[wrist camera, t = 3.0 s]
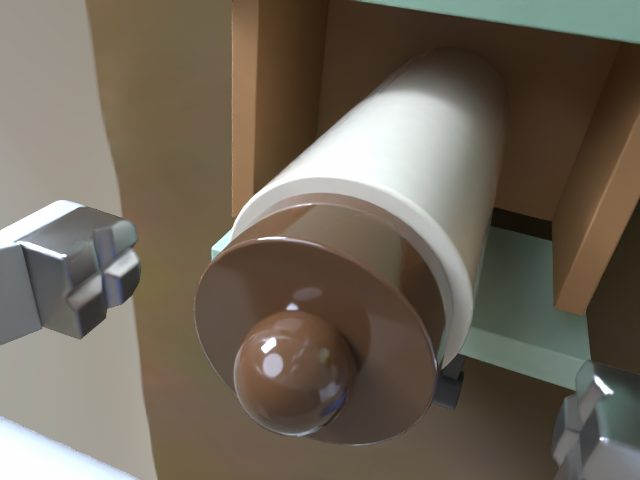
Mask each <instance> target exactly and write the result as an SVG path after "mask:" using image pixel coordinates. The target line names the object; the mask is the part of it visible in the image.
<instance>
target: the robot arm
mask: <svg viewBox="0 0 640 480" xmlns="http://www.w3.org/2000/svg"><path fill="white" fill-rule="evenodd" d="M137 242H138V238H137V231H136V226H135V225H134V224H133V223H132V222H130V221H129V220H127V219H124V218H121V217H118V216H115V215H112V214H109V213H105V212H103V211H100V210H97V209H93V208H90V207H86V206H83V205H81V204H77V203H74V202H71V201H61V200H59V201H56V202H54V203H52V204H50V205H49V206H47V207H45V208H43V209H41V210H39V211H37V212H35V213H33V214H31V215H29V216H27V217H25V218H23V219H22V220H20V221H18V222H16V223H14V224H12V225H10V226H8V227H6V228H4V229H2V230H0V345H3V344H5V343H8V342H10V341H13V340H15V339H18V338H20V337H23V336H25V335H28V334H30V333H33V332H35V331H38V330H40V329H42V326H43V327H46V328H48V329H51V330H54V331H57V332H60V333H63V334H65V335H69V336H71V337H74V338H77V339H82V338H83V337H84V336H85V335H86V334H87V333H89V332H90V331H91V330H92V329H93V328H95V327H96V326H97V325H98V324H99V323H101V322H102V321H103V320H104V319H105V318H106V313H107V309H108V308H111V307H115V306H118V305H121V304H123V303H124V302H125V301H126V300H127V299H128V298H129V297H131V296H132V294H133V292H134V291H135V289H136V287H137V285H138V283H139V280H140V274H141V264H140V259H139V258H138V256H137V255H136V253H135V251H134V250H133V247H134V246H135V244H136V243H137ZM575 382H576V393H575V394H572V395H570V396H568V397H565V399H564V401H563V403H562V405H561V407H560V409H559V412H558V414H557V418H556V422H555V425H554V429H553V437H552V457H553V458H554V460H555V461H556V463H557V464H558V466H559V467H560V468H559V470H558V472H557V473H556V475H555V477H554V479H553V480H640V375H638V374H635V373H632V372H628V371H625V370H622V369H618V368H615V367H612V366H608V365H605V364H601V363H598V362H595V361H591V360H588V359H587V360H586V361H585V362H584V364H583V365H582V366H581V368H580V369H579V371H578V373H577V375H576V377H575ZM0 480H141V479H139V478H137V477H135V476H133V475H130V474H128V473H126V472H124V471H121V470H119V469H117V468H115V467H113V466H110V465H108V464H106V463H104V462H102V461H99V460H97V459H95V458H93V457H90V456H88V455H86V454H84V453H82V452H79V451H77V450H74V449H73V448H70V447H68V446H66V445H64V444H61V443H59V442H57V441H55V440H53V439H51V438H48V437H46V436H44V435H41V434H39V433H37V432H35V431H33V430H30V429H28V428H26V427H24V426H22V425H20V424H17V423H15V422H13V421H11V420H8V419H6V418H4V417H2V416H0Z"/></svg>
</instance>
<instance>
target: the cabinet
mask: <svg viewBox="0 0 640 480" xmlns="http://www.w3.org/2000/svg"><path fill="white" fill-rule="evenodd" d="M354 1H361V2H367V3H374V4H380V5H387V6H393V7H400V8H406V9H413V10H420V11H426V12H433V13H439V14H446V15H452V16H459V17H465V18H472V19H478V20H485V21H491V22H498V23H504V24H511V25H517V26H524V27H530V28H537V29H543V30H550V31H556V32H563V33H569V34H576V35H582V36H589V37H595V38H602V39H608V40H615V41H622V42H628V43H635V44H640V0H354Z"/></svg>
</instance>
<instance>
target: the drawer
mask: <svg viewBox="0 0 640 480" xmlns="http://www.w3.org/2000/svg"><path fill="white" fill-rule="evenodd" d="M439 47H453V48H460V49H464V50H468V51H470V52H473V53H475V54H477V55H479V56H481V57H482V58H484V59H485V60H486V61H488V62H489V63H490V64H491V65H492V66H493V67H494V68H495V69H496V70H497V71H498V73H499V74H500V75H501V77H502V78H503V80H504V82H505V84H506V86H507V89H508V92H509V96H510V101H511V119H510V125H509V130H508V135H507V141H506V146H505V151H504V156H503V162H502V167H501V172H500V177H499V183H498V188H497V193H496V199H495V204H494V207H495V208H499V209H503V210H507V211H511V212H515V213H520V214H524V215H528V216H532V217H536V218H540V219H544V220H548V221H552V241H549V240H545V239H541V238H537V237H533V236H529V235H525V234H521V233H518V232H514V231H510V230H506V229H502V228H498V227H494V226H490V230H489V235H488V241H487V246H486V251H485V256H484V262H483V267H482V272H481V278H480V283H479V288H478V293H477V299H476V304H475V309H474V314H473V319H472V323H471V328H470V331H469V334H468V336H467V338H466V341H465V343H464V345H463V346H462V348H461V349H460V351H459V352H458V354H457V355H456V356H455V357H454V358H453V360H452V361H451V362H450V363H449V364H448V365H447V366H446V367H444V368H443V369H442V370H441V373H440V377H439V381H438V385H437V390H436V394H435V396H434V399H433V401H432V403H434V404H437V405H440V406H443V407H446V408H449V409H451V410H454V409H455V407H456V404H457V402H458V398H459V395H460V391H461V387H462V383H463V378H464V372H463V371H461V369H462V366H463V363H464V360H465V357H466V356H468V357H471V358H474V359H478V360H481V361H484V362H487V363H490V364H493V365H496V366H499V367H503V368H506V369H509V370H512V371H515V372H518V373H521V374H524V375H528V376H531V377H534V378H537V379H540V380H543V381H546V382H549V383H553V384H556V385H559V386H562V387H565V388H568V389H571V390H574V391H576V382H575V377H576V375H577V373H578V371H579V369H580V368H581V366H582V365H583V364H584V362H585V361H586V360H587V359H588V360H591V355H590V345H589V336H588V327H587V318H586V309H587V307H588V305H589V302H590V300H591V298H592V296H593V294H594V292H595V290H596V288H597V286H598V284H599V282H600V280H601V278H602V276H603V273H604V271H605V269H606V267H607V265H608V263H609V261H610V259H611V257H612V255H613V253H614V251H615V249H616V247H617V245H618V242H619V240H620V238H621V236H622V234H623V232H624V230H625V228H626V226H627V224H628V222H629V220H630V218H631V216H632V214H633V211H634V209H635V207H636V205H637V203H638V201H639V199H640V44H635V43H628V42H622V41H615V40H608V39H602V38H595V37H589V36H582V35H576V34H569V33H563V32H556V31H550V30H543V29H537V28H530V27H524V26H517V25H511V24H504V23H498V22H491V21H485V20H478V19H472V18H465V17H459V16H452V15H446V14H439V13H433V12H426V11H420V10H413V9H406V8H400V7H393V6H387V5H380V4H374V3H367V2H361V1H354V0H232V217H233V218H237V216H238V215H239V213H240V211H241V210H242V208H243V207H244V206H245V205H246V203H247V202H248V201H249V200H250V199H251V198H252V197H253V196H254V195H255V194H256V193H257V192H258V191H260V190H261V189H262V188H263V187H264V186H265V185H266V184H267V183H269V182H270V181H271V180H272V179H273V178H274V177H275V176H276V175H278V174H279V173H280V172H281V171H282V170H283V169H284V168H285V167H287V166H288V165H289V164H290V163H291V162H292V161H293V160H294V159H296V158H297V157H298V156H299V155H300V154H301V153H302V152H303V151H305V150H306V149H307V148H308V147H309V146H310V145H311V144H312V143H314V142H315V141H316V140H317V139H318V138H319V137H320V136H321V135H323V134H324V133H325V132H326V131H327V130H328V129H329V128H330V127H332V126H333V125H334V124H335V123H336V122H337V121H338V120H339V119H341V118H342V117H343V116H344V115H345V114H346V113H347V112H348V111H350V110H351V109H352V108H353V107H354V106H355V105H356V104H357V103H359V102H360V101H361V100H362V99H363V98H364V97H365V96H366V95H368V94H369V93H370V92H371V91H372V90H373V89H374V88H376V87H377V86H378V85H379V84H380V83H381V82H382V81H383V80H385V79H386V78H387V77H388V76H389V75H390V74H391V73H392V72H394V71H395V70H396V69H397V68H398V67H399V66H400V65H401V64H403V63H404V62H405V61H406V60H408V59H409V58H411V57H412V56H414V55H416V54H418V53H420V52H423V51H426V50H429V49H433V48H439ZM231 230H232V229H231ZM231 230H230V231H229V232H228V233H227V234H226V235H225V236H224V237H223V238H222V239H221V240H220V241H219V242H217V243H216V244H215V245H214V246H213V247H212V260H213V259H214V258H215V257H216V256H217V255H218V254H219V253H220V252H221V251H222V250H223V249H224V248H225V247H226V246H227V245H228V243H229V238H230V233H231Z"/></svg>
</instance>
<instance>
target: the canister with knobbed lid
mask: <svg viewBox="0 0 640 480" xmlns="http://www.w3.org/2000/svg"><path fill="white" fill-rule="evenodd" d="M510 119H511V101H510V96H509V92H508V89H507V86H506V84H505V82H504V80H503V78H502V77H501V75H500V74H499V73H498V71H497V70H496V69H495V68H494V67H493V66H492V65H491V64H490V63H489V62H488V61H486V60H485V59H484V58H482V57H481V56H479V55H477V54H475V53H473V52H470V51H468V50H464V49H460V48H453V47H439V48H433V49H429V50H426V51H423V52H420V53H418V54H416V55H414V56H412V57H411V58H409V59H408V60H406V61H405V62H404V63H403V64H401V65H400V66H399V67H398V68H397V69H396V70H395V71H394V72H392V73H391V74H390V75H389V76H388V77H387V78H386V79H385V80H383V81H382V82H381V83H380V84H379V85H378V86H377V87H376V88H374V89H373V90H372V91H371V92H370V93H369V94H368V95H366V96H365V97H364V98H363V99H362V100H361V101H360V102H359V103H357V104H356V105H355V106H354V107H353V108H352V109H351V110H350V111H348V112H347V113H346V114H345V115H344V116H343V117H342V118H341V119H339V120H338V121H337V122H336V123H335V124H334V125H333V126H332V127H330V128H329V129H328V130H327V131H326V132H325V133H324V134H323V135H321V136H320V137H319V138H318V139H317V140H316V141H315V142H314V143H312V144H311V145H310V146H309V147H308V148H307V149H306V150H305V151H303V152H302V153H301V154H300V155H299V156H298V157H297V158H296V159H294V160H293V161H292V162H291V163H290V164H289V165H288V166H287V167H285V168H284V169H283V170H282V171H281V172H280V173H279V174H278V175H276V176H275V177H274V178H273V179H272V180H271V181H270V182H269V183H267V184H266V185H265V186H264V187H263V188H262V189H261V190H260V191H258V192H257V193H256V194H255V195H254V196H253V197H252V198H251V199H250V200H249V201H248V202H247V203H246V205H245V206H244V207H243V208H242V210H241V211H240V213H239V215H238V216H237V218H236V220H235V222H234V225H233V227H232V230H231V233H230V238H229V243H228V245H227V246H226V247H225V248H224V249H223V250H222V251H221V252H220V253H219V254H218V255H217V256H216V257H215V258H214V259H213V260H212V261H211V262H210V264H209V265H208V266H207V267H206V269H205V271H204V272H203V274H202V276H201V278H200V281H199V283H198V286H197V289H196V294H195V300H194V318H195V326H196V330H197V334H198V337H199V340H200V343H201V345H202V348H203V350H204V352H205V354H206V356H207V358H208V360H209V362H210V363H211V365H212V366H213V368H214V369H215V371H216V372H217V374H218V375H219V376H220V378H221V379H222V380H223V381H224V383H225V384H226V385H227V386H228V387H229V388H230V389H231V390H232V391H233V392H234V393H235V394H236V395H237V397H238V400H239V402H240V404H241V406H242V407H243V409H244V410H245V412H246V413H247V414H248V416H249V417H250V418H251V419H252V420H253V421H254V422H256V423H257V424H258V425H260V426H261V427H263V428H264V429H266V430H268V431H270V432H273V433H275V434H279V435H283V436H295V437H296V436H304V437H307V438H310V439H314V440H318V441H322V442H326V443H332V444H339V445H368V444H373V443H379V442H383V441H386V440H389V439H392V438H394V437H396V436H398V435H401V434H403V433H404V432H406V431H407V430H408V429H410V428H411V427H413V426H414V425H415V424H416V423H417V422H418V421H419V420H420V419H421V418H422V417H423V416H424V415H425V413H426V412H427V410H428V409H429V407H430V406H431V403H432V401H433V399H434V396H435V394H436V390H437V385H438V381H439V377H440V373H441V370H442V369H443V368H444V367H446V366H447V365H448V364H449V363H450V362H451V361H452V360H453V358H454V357H455V356H456V355H457V354H458V352H459V351H460V349H461V348H462V346H463V345H464V343H465V341H466V338H467V336H468V334H469V331H470V328H471V323H472V319H473V314H474V309H475V304H476V299H477V293H478V288H479V283H480V278H481V272H482V267H483V262H484V256H485V251H486V246H487V241H488V235H489V230H490V225H491V220H492V214H493V209H494V204H495V199H496V193H497V188H498V183H499V177H500V172H501V167H502V162H503V156H504V151H505V146H506V141H507V135H508V130H509V125H510Z"/></svg>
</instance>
